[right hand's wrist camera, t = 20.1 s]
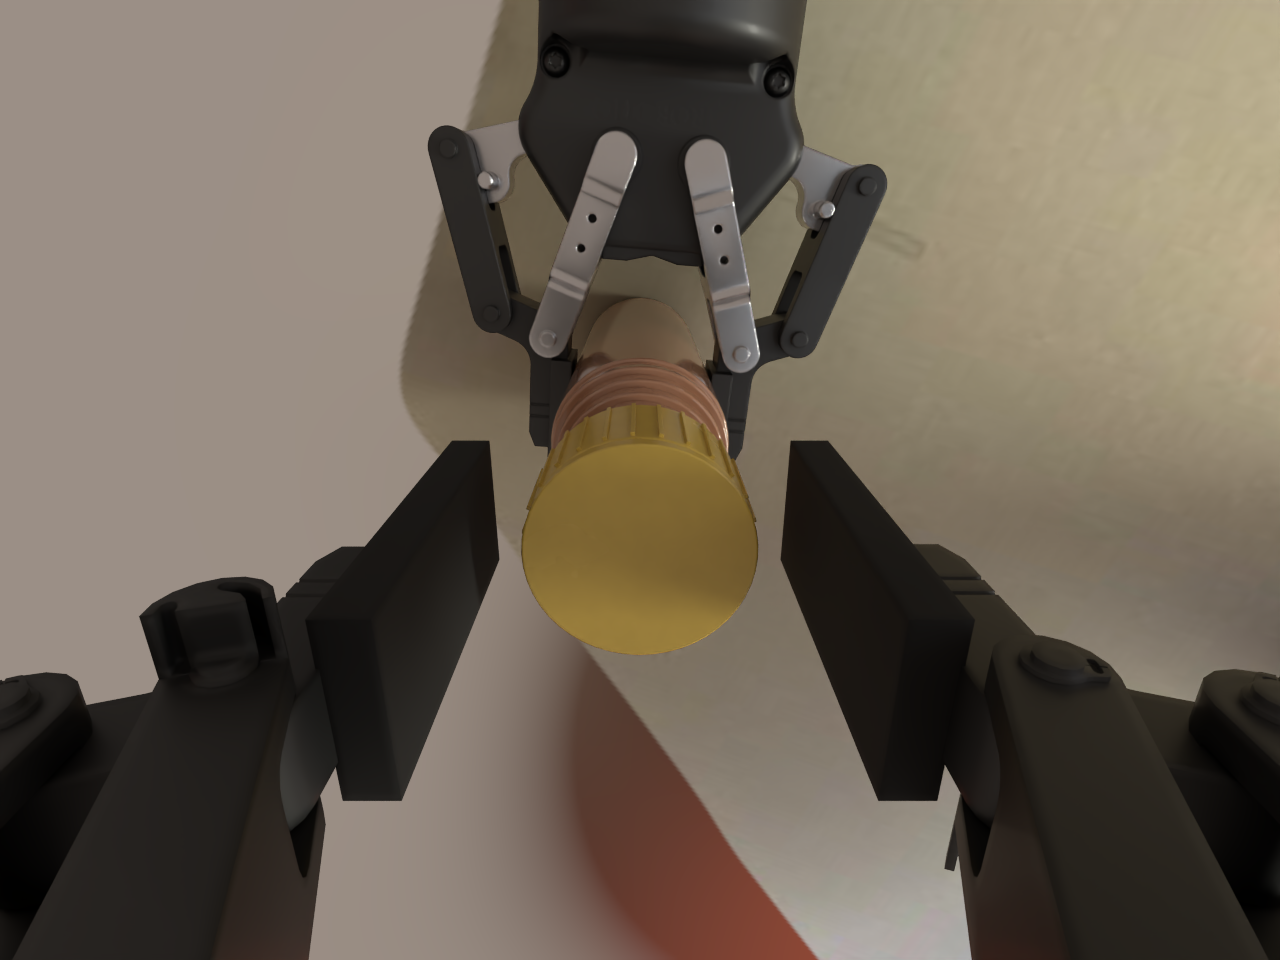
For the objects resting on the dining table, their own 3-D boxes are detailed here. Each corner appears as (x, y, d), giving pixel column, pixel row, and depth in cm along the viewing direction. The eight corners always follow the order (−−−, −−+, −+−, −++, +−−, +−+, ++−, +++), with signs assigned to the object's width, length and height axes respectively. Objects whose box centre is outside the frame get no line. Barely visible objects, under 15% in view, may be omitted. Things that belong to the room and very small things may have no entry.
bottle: (714, 361, 30) (814, 561, 13) (631, 424, 31) (621, 687, 14) (649, 274, 28) (662, 368, 11) (564, 343, 29) (461, 524, 12)
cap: (582, 366, 13) (570, 400, 11) (777, 449, 14) (805, 498, 12) (509, 546, 15) (485, 610, 12) (689, 614, 15) (698, 687, 13)
